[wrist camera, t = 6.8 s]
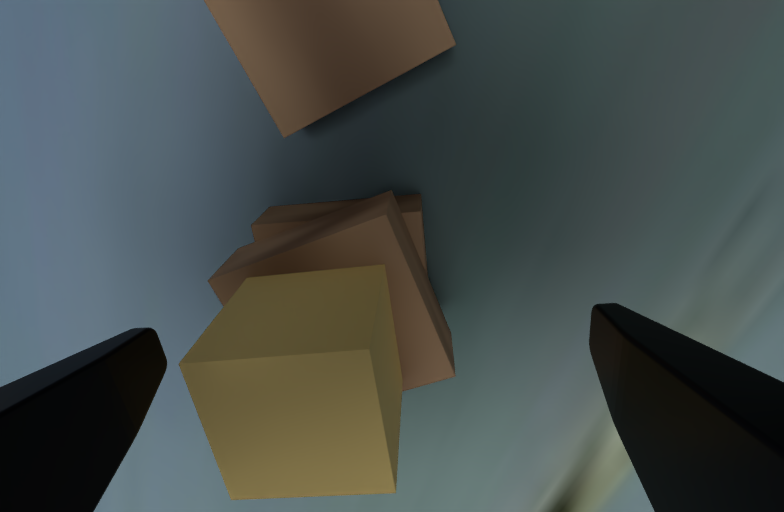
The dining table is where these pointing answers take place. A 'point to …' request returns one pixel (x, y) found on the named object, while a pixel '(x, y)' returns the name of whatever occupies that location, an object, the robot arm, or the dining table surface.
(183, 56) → the dining table surface
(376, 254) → the walnut slab upper
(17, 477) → the robot arm
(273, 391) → the mustard cube
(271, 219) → the walnut slab lower
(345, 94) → the walnut slab
